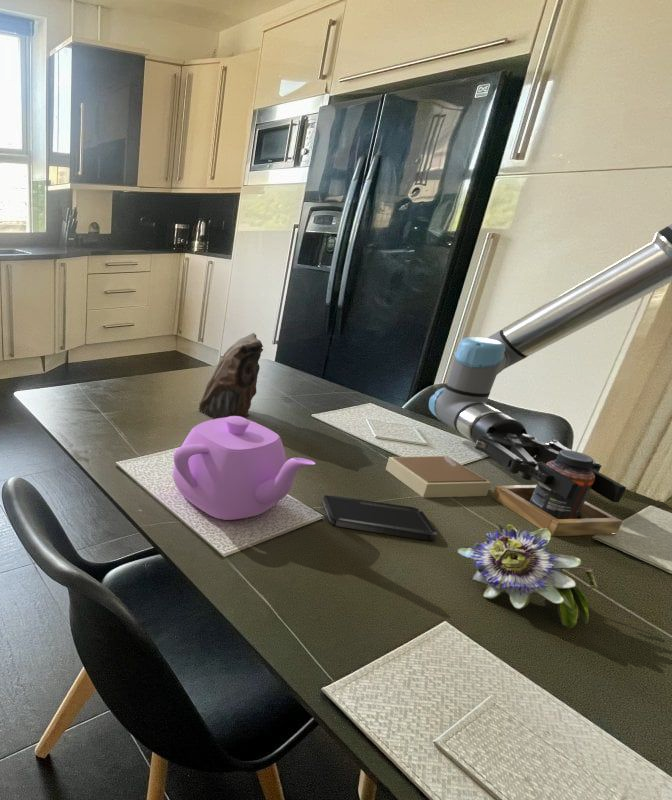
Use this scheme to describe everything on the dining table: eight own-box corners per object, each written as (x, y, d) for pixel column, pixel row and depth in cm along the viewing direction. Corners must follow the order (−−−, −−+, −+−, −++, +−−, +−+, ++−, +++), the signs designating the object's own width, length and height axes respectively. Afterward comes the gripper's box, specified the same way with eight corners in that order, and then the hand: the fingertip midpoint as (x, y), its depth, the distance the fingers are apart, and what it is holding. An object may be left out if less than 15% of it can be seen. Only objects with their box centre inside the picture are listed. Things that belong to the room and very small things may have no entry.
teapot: (140, 491, 86) (146, 414, 81) (227, 465, 96) (238, 394, 90) (234, 571, 68) (251, 477, 62) (332, 529, 77) (354, 444, 71)
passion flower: (477, 629, 66) (436, 544, 67) (524, 593, 69) (484, 513, 71) (581, 650, 55) (530, 549, 56) (630, 606, 59) (581, 512, 60)
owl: (240, 405, 125) (252, 330, 118) (270, 425, 114) (285, 343, 107) (196, 409, 123) (205, 332, 115) (221, 430, 111) (233, 345, 104)
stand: (442, 468, 96) (447, 454, 95) (486, 496, 87) (491, 481, 86) (385, 469, 95) (389, 456, 94) (423, 497, 86) (427, 483, 85)
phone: (439, 536, 74) (332, 519, 77) (437, 542, 74) (330, 525, 78) (420, 507, 81) (322, 493, 84) (418, 513, 81) (321, 498, 85)
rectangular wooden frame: (548, 496, 87) (553, 484, 86) (616, 534, 77) (623, 521, 76) (491, 497, 86) (496, 485, 85) (552, 536, 76) (558, 523, 75)
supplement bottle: (565, 510, 83) (593, 451, 79) (581, 529, 78) (612, 467, 74) (521, 501, 85) (545, 444, 81) (534, 519, 80) (561, 459, 76)
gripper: (535, 449, 96) (653, 518, 75) (434, 443, 98) (520, 509, 76) (550, 415, 93) (676, 476, 72) (445, 409, 95) (538, 467, 74)
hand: (595, 493), depth 74 cm, fingers closed on supplement bottle, 6 cm apart
